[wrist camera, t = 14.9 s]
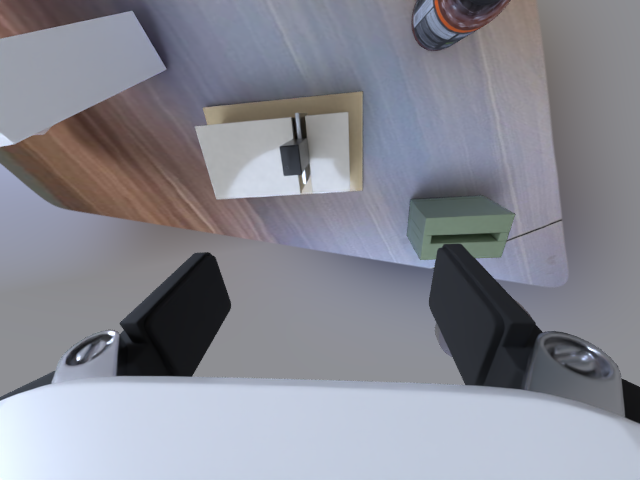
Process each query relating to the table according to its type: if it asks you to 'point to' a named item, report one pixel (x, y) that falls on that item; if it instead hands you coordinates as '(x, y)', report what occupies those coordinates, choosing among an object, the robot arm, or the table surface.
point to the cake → (275, 130)
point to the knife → (297, 152)
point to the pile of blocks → (69, 71)
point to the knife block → (458, 225)
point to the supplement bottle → (451, 20)
